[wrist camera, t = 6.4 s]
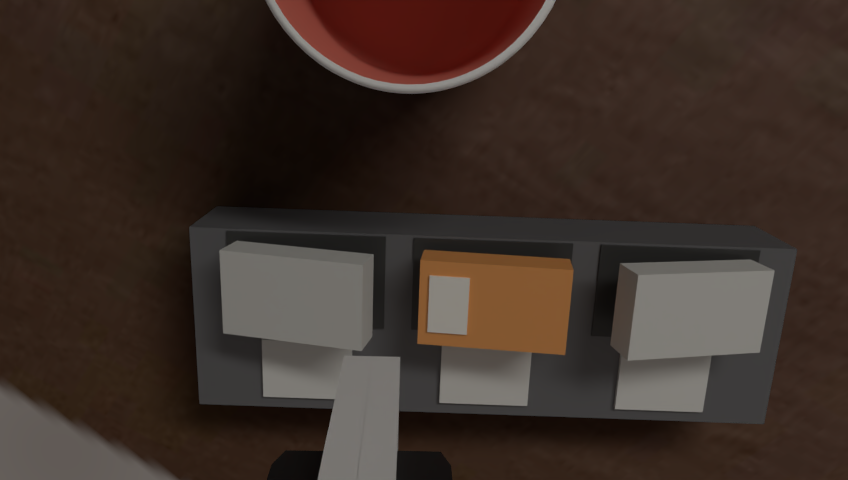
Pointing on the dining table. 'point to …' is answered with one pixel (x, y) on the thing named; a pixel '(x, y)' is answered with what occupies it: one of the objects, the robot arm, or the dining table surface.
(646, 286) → the rocker
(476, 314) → the block
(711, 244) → the switch panel
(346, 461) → the robot arm
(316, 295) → the block
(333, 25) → the cup
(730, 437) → the dining table surface
